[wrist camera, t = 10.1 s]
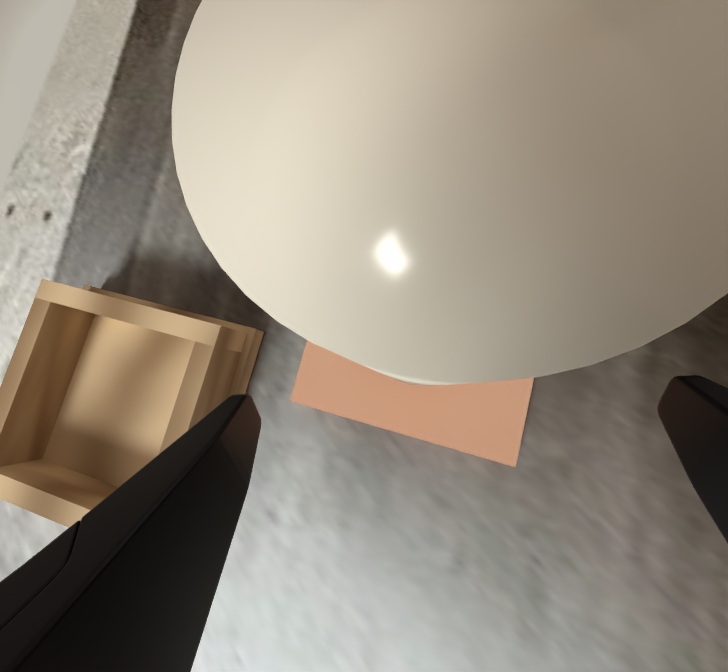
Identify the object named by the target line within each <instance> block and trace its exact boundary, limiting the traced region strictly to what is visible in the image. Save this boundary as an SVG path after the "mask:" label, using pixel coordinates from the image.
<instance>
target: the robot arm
mask: <svg viewBox="0 0 728 672" xmlns="http://www.w3.org/2000/svg"><path fill="white" fill-rule="evenodd" d="M658 414H659V417H660V419H661V421H662V424H663V426H664V428H665V430H666V432H667V434H668V436H669V438H670V440H671V442H672V444H673V446H674V449H675V451H676V453H677V455H678V457H679V459H680V461H681V463H682V465H683V467H684V469H685V471H686V473H687V475H688V477H689V479H690V481H691V483H692V485H693V487H694V489H695V490H696V492H697V494H698V496H699V497H700V499H701V501H702V502H703V504H704V506H705V507H706V509H707V510H708V512H709V514H710V515H711V517H712V519H713V520H714V522H715V523H716V525H717V527H718V528H719V530H720V532H721V533H722V535H723V536H724V538H725V540H726V541H727V543H728V388H726V387H724V386H722V385H719V384H717V383H715V382H713V381H711V380H709V379H707V378H704V377H702V376H696V375H692V376H676V377H674V378H672V379H671V380H670V382H669V384H668V385H667V387H666V389H665V391H664V393H663V395H662V397H661V399H660V401H659V403H658ZM260 429H261V418H260V415H259V413H258V411H257V408H256V406H255V404H254V401H253V399H252V397H251V396H250V395H249V394H234V395H231V396H230V397H228V398H227V399H226V400H224V401H223V402H222V403H221V404H220V405H218V406H217V407H216V408H215V409H213V410H212V411H211V412H210V413H209V414H207V415H206V416H205V417H204V418H203V419H201V420H200V421H199V422H198V423H196V424H195V425H194V426H193V427H192V428H190V429H189V430H188V431H187V432H185V433H184V434H183V435H182V436H181V437H179V438H178V439H177V440H176V441H174V442H173V443H172V444H171V445H170V446H168V447H167V448H166V449H165V450H163V451H162V452H161V453H160V454H159V455H157V456H156V457H155V458H154V459H152V460H151V461H150V462H149V463H148V464H146V465H145V466H144V467H143V468H142V469H140V470H139V471H138V472H137V473H135V474H134V475H133V476H132V477H131V478H129V479H128V480H127V481H126V482H124V483H123V484H122V485H121V486H120V487H118V488H117V489H116V490H115V491H113V492H112V493H111V494H110V495H109V496H107V497H106V498H105V499H104V500H102V501H101V502H100V503H99V504H98V505H96V506H95V507H94V508H93V509H91V510H90V511H89V512H88V513H87V514H85V515H84V516H83V517H82V519H81V521H77V522H75V523H74V524H73V525H72V526H71V527H69V528H68V529H67V530H66V531H64V532H63V533H62V534H61V535H60V536H58V537H57V538H56V539H55V540H53V541H52V542H51V543H50V544H48V545H47V546H46V547H45V548H43V549H42V550H41V551H40V552H38V553H37V554H36V555H35V556H33V557H32V558H31V559H30V560H28V561H27V562H26V563H25V564H23V565H22V566H21V567H19V568H18V569H17V570H15V571H14V572H13V573H11V574H10V575H9V576H7V577H6V578H5V579H4V580H2V581H1V582H0V672H191V668H192V665H193V662H194V659H195V656H196V653H197V649H198V646H199V643H200V640H201V637H202V634H203V630H204V627H205V624H206V621H207V618H208V615H209V611H210V608H211V605H212V602H213V599H214V596H215V592H216V589H217V586H218V583H219V580H220V576H221V573H222V570H223V567H224V564H225V561H226V557H227V554H228V551H229V548H230V545H231V542H232V538H233V535H234V532H235V529H236V526H237V523H238V519H239V516H240V513H241V510H242V507H243V504H244V500H245V497H246V494H247V490H248V487H249V482H250V478H251V473H252V468H253V463H254V458H255V453H256V449H257V444H258V439H259V434H260Z"/></svg>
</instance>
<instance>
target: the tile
mask: <svg viewBox="0 0 728 672" xmlns="http://www.w3.org/2000/svg"><path fill="white" fill-rule="evenodd" d="M533 380H534V378H524V379H514V380H504V381H494V382H481V383H467V384H452V385H438V386H415V385H409V384H406V383H403V382H400V381H398V380H396V379H393V378H391V377H389V376H386V375H384V374H382V373H379V372H377V371H375V370H372V369H370V368H368V367H365V366H363V365H361V364H358V363H356V362H354V361H351V360H349V359H347V358H345V357H342V356H340V355H338V354H336V353H333V352H331V351H329V350H327V349H325V348H322V347H320V346H318V345H316V344H313V343H311V342H310V341H308V340H307V343H306V346H305V349H304V353H303V356H302V360H301V363H300V367H299V370H298V374H297V377H296V381H295V384H294V388H293V391H292V395H291V398H290V401H291V402H295V403H298V404H302V405H305V406H308V407H312V408H315V409H319V410H322V411H326V412H329V413H332V414H336V415H339V416H343V417H346V418H349V419H353V420H356V421H360V422H363V423H367V424H370V425H373V426H377V427H380V428H384V429H387V430H390V431H394V432H397V433H401V434H404V435H407V436H411V437H414V438H418V439H421V440H425V441H428V442H431V443H435V444H438V445H442V446H445V447H448V448H452V449H455V450H459V451H462V452H466V453H469V454H472V455H476V456H479V457H483V458H486V459H489V460H493V461H496V462H500V463H503V464H506V465H510V466H513V467H516V462H517V458H518V453H519V448H520V443H521V438H522V433H523V429H524V424H525V419H526V414H527V409H528V404H529V400H530V395H531V390H532V385H533Z"/></svg>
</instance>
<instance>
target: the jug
mask: <svg viewBox="0 0 728 672" xmlns="http://www.w3.org/2000/svg"><path fill="white" fill-rule="evenodd" d="M172 143H173V149H174V156H175V163H176V169H177V175H178V178H179V181H180V185H181V188H182V191H183V195H184V198H185V201H186V205H187V207H188V209H189V212H190V214H191V216H192V218H193V220H194V222H195V224H196V227H197V229H198V231H199V233H200V235H201V237H202V239H203V240H204V242H205V243H206V245H207V246H208V248H209V250H210V251H211V253H212V254H213V256H214V257H215V259H216V260H217V262H218V263H219V265H220V266H221V268H222V269H223V270H224V271H225V272H226V273H227V274H228V276H229V277H230V278H231V279H232V280H233V281H234V282H235V283H236V284H237V286H238V287H239V288H240V289H241V290H242V291H243V292H244V293H245V295H246V296H248V297H249V298H250V299H251V300H252V301H253V302H255V303H256V304H257V305H258V306H259V307H261V308H262V309H263V310H264V311H265V312H267V313H268V314H269V315H270V316H271V317H272V318H274V319H275V320H276V321H278V322H279V323H281V324H282V325H284V326H286V327H287V328H289V329H290V330H292V331H294V332H295V333H297V334H298V335H300V336H302V337H303V338H305V339H306V340H308V341H310V342H311V343H313V344H316V345H318V346H320V347H322V348H325V349H327V350H329V351H331V352H333V353H336V354H338V355H340V356H342V357H345V358H347V359H349V360H351V361H354V362H356V363H358V364H361V365H363V366H365V367H368V368H370V369H372V370H375V371H377V372H379V373H382V374H384V375H386V376H389V377H391V378H393V379H396V380H398V381H400V382H403V383H406V384H409V385H415V386H438V385H452V384H467V383H481V382H494V381H504V380H514V379H524V378H534V377H542V376H546V375H551V374H555V373H559V372H564V371H568V370H572V369H577V368H581V367H586V366H590V365H593V364H596V363H598V362H601V361H604V360H607V359H609V358H612V357H615V356H617V355H620V354H623V353H625V352H628V351H631V350H634V349H636V348H639V347H641V346H643V345H645V344H647V343H649V342H651V341H653V340H654V339H656V338H658V337H660V336H662V335H664V334H666V333H668V332H670V331H672V330H673V329H675V328H677V327H679V326H681V325H683V324H685V323H687V322H688V321H689V320H691V319H692V318H694V317H695V316H696V315H698V314H699V313H701V312H702V311H703V310H705V309H706V308H708V307H709V306H710V305H712V304H713V303H715V302H716V301H717V300H719V299H720V298H722V297H723V296H724V295H726V294H727V293H728V0H202V2H201V4H200V6H199V8H198V9H197V11H196V14H195V16H194V19H193V21H192V24H191V26H190V29H189V32H188V34H187V37H186V39H185V42H184V45H183V49H182V53H181V57H180V61H179V65H178V68H177V72H176V78H175V86H174V94H173V102H172Z"/></svg>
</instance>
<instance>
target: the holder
mask: <svg viewBox="0 0 728 672" xmlns="http://www.w3.org/2000/svg"><path fill="white" fill-rule="evenodd" d="M263 334H264V332H263V331H260V330H258V329H255V328H251V327H247V326H243V325H239V324H235V323H232V322H228V321H224V320H220V319H216V318H212V317H208V316H204V315H200V314H197V313H193V312H189V311H185V310H181V309H177V308H173V307H169V306H165V305H162V304H158V303H154V302H150V301H146V300H142V299H138V298H134V297H130V296H127V295H123V294H119V293H115V292H111V291H107V290H103V289H99V288H95V287H92V286H88V285H84V287H83V289H79V288H75V287H71V286H67V285H63V284H59V283H56V282H52V281H48V280H44V279H42V281H41V283H40V286H39V289H38V291H37V294H36V296H35V299H34V302H33V304H32V307H31V309H30V312H29V315H28V317H27V320H26V322H25V325H24V327H23V330H22V333H21V335H20V338H19V340H18V343H17V346H16V348H15V351H14V353H13V356H12V359H11V361H10V364H9V366H8V369H7V372H6V374H5V377H4V379H3V382H2V385H1V387H0V499H2V500H4V501H7V502H9V503H11V504H14V505H16V506H19V507H21V508H23V509H26V510H28V511H31V512H33V513H35V514H38V515H40V516H43V517H45V518H47V519H50V520H52V521H55V522H57V523H59V524H62V525H64V526H67V527H71V526H72V525H73V524H74V523H75V522H77V521H81V519H82V517H83V516H84V515H85V514H87V513H88V512H89V511H90V510H91V509H93V508H94V507H95V506H96V505H98V504H99V503H100V502H101V501H102V500H104V499H105V498H106V497H107V496H109V495H110V494H111V493H112V492H113V491H115V490H116V489H117V488H118V487H120V486H121V485H122V484H123V483H124V482H126V481H127V480H128V479H129V478H131V477H132V476H133V475H134V474H135V473H137V472H138V471H139V470H140V469H142V468H143V467H144V466H145V465H146V464H148V463H149V462H150V461H151V460H152V459H154V458H155V457H156V456H157V455H159V454H160V453H161V452H162V451H163V450H165V449H166V448H167V447H168V446H170V445H171V444H172V443H173V442H174V441H176V440H177V439H178V438H179V437H181V436H182V435H183V434H184V433H185V432H187V431H188V430H189V429H190V428H192V427H193V426H194V425H195V424H196V423H198V422H199V421H200V420H201V419H203V418H204V417H205V416H206V415H207V414H209V413H210V412H211V411H212V410H213V409H215V408H216V407H217V406H218V405H220V404H221V403H222V402H223V401H224V400H226V399H227V398H228V397H230V396H231V395H234V394H245V393H246V390H247V387H248V383H249V380H250V377H251V373H252V370H253V367H254V363H255V360H256V357H257V353H258V350H259V347H260V344H261V340H262V337H263Z"/></svg>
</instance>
